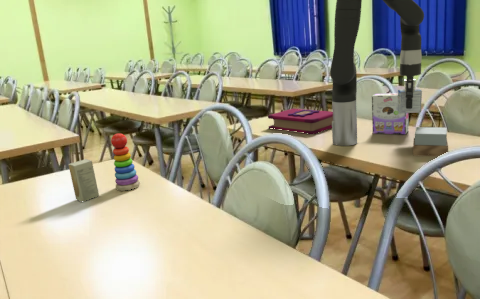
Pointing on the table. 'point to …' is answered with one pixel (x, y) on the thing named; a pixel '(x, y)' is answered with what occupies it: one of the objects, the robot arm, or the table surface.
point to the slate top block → (430, 136)
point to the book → (302, 120)
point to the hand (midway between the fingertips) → (409, 106)
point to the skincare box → (83, 180)
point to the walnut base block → (429, 149)
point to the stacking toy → (123, 164)
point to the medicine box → (415, 101)
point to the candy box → (388, 115)
